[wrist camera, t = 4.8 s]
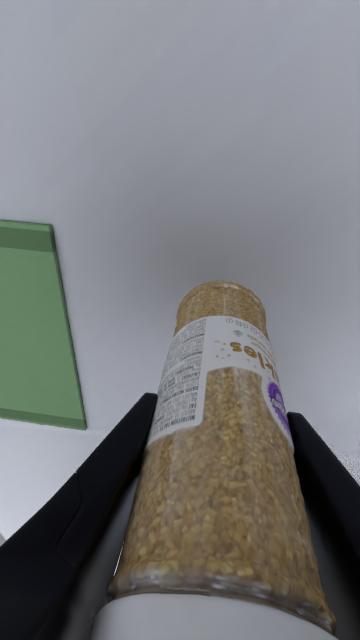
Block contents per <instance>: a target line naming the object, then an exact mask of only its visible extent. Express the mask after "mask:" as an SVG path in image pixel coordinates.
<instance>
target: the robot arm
mask: <svg viewBox="0 0 360 640" xmlns="http://www.w3.org/2000/svg"><path fill="white" fill-rule="evenodd" d="M157 397H158V395H157V394H154V393H145V394H144V395H143V396H142V397H141V398H140V399H139V401H138V402H137V403H136V404H135V405H134V406H133V407H132V408H131V410H130V411H129V412H128V413H127V414H126V415H125V416H124V418H123V419H122V420H121V421H120V422H119V423H118V424H117V425H116V427H115V428H114V429H113V430H112V431H111V432H110V433H109V434H108V436H107V437H106V438H105V439H104V440H103V441H102V442H101V444H100V445H99V446H98V447H97V448H96V449H95V450H94V451H93V453H92V454H91V455H90V456H89V457H88V458H87V459H86V460H85V462H84V463H83V464H82V465H81V466H80V467H79V468H78V470H77V471H76V473H77V474H76V473H74V474H73V475H72V476H71V477H70V478H69V480H68V481H67V482H66V483H65V484H64V485H63V486H62V487H61V488H60V489H59V490H58V492H57V493H56V494H55V495H54V496H53V497H52V498H51V499H50V500H49V501H48V502H47V503H46V504H45V505H44V506H43V507H42V508H41V509H40V510H39V511H38V512H37V513H36V514H35V515H34V516H33V517H31V518H30V519H29V520H28V521H27V522H26V523H25V524H24V525H23V526H22V527H21V528H20V529H19V530H18V531H16V532H15V533H14V534H13V535H12V536H11V537H10V538H9V539H8V540H7V541H6V542H5V543H4V544H3V545H2V546H0V640H89V638H90V635H91V631H92V627H93V623H94V620H95V618H96V615H97V613H98V612H99V611H100V610H101V608H103V607H104V605H105V602H106V598H107V595H106V592H107V587H108V584H109V582H110V581H111V579H112V578H113V575H114V572H115V569H116V566H117V562H118V559H119V556H120V553H121V549H122V546H123V543H124V535H125V532H126V529H127V525H128V520H129V516H130V513H131V509H132V504H133V499H134V495H135V491H136V487H137V483H138V478H139V474H140V470H141V459H142V455H143V451H144V447H145V443H146V440H147V436H148V433H149V430H150V426H151V422H152V418H153V414H154V409H155V405H156V401H157ZM286 415H287V420H288V424H289V428H290V433H291V437H292V441H293V445H294V455H293V457H294V460H295V465H296V471H297V475H298V477H299V482H300V490H301V493H302V495H303V498H304V504H305V509H306V513H307V516H308V522H309V527H310V531H311V538H312V543H313V547H314V551H315V555H316V558H317V561H318V565H319V574H320V578H321V585H322V588H323V591H324V593H325V600H326V602H327V604H328V606H329V608H330V609H331V611H332V612H333V614H334V615H335V618H336V620H337V629H336V633H335V635H334V636H335V637H336V638H337V639H338V640H360V486H359V484H358V483H357V482H356V481H355V479H354V478H353V477H352V476H351V474H350V473H349V472H348V471H347V470H346V468H345V467H344V466H343V465H342V463H341V462H340V461H339V460H338V458H337V457H336V456H335V455H334V454H333V452H332V451H331V450H330V449H329V447H328V446H327V445H326V444H325V442H324V441H323V440H322V439H321V437H320V436H319V435H318V434H317V433H316V431H315V430H314V429H313V428H312V426H311V425H310V424H309V423H308V421H307V420H306V419H305V418H304V416H303V415H302V414H300V413H294V412H288V413H287V414H286Z"/></svg>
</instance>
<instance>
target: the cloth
mask: <svg viewBox="0 0 360 640" xmlns="http://www.w3.org/2000/svg"><path fill="white" fill-rule="evenodd" d="M0 418H3V419H9V420H16V421H23V422H30V423H37V424H44V425H51V426H58V427H64V428H71V429H78V430H86V428H87V426H86V420H85V414H84V409H83V403H82V397H81V391H80V385H79V380H78V374H77V368H76V362H75V357H74V351H73V345H72V339H71V334H70V328H69V322H68V316H67V311H66V305H65V299H64V293H63V288H62V282H61V276H60V270H59V265H58V259H57V253H56V247H55V242H54V236H53V230H52V225H48V224H38V223H28V222H18V221H8V220H0Z"/></svg>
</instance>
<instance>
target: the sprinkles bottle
mask: <svg viewBox="0 0 360 640" xmlns="http://www.w3.org/2000/svg"><path fill="white" fill-rule="evenodd" d="M157 395H158V397H157V401H156V405H155V409H154V414H153V418H152V422H151V426H150V430H149V433H148V436H147V440H146V443H145V447H144V451H143V455H142V459H141V470H140V474H139V478H138V483H137V487H136V491H135V495H134V499H133V504H132V509H131V513H130V516H129V520H128V525H127V529H126V532H125V535H124V544H123V548H122V552H121V555H120V559H119V563H118V567H117V570H116V573H115V575H114V576H113V578H112V579H111V581H110V582H109V584H108V587H107V592H106V595H107V599H108V603H107V604H106V605H105V606H104V607H103V608H101V610H100V611H99V612H98V613H97V615H96V618H95V620H94V623H93V627H92V631H91V635H90V638H89V640H338V639H337V638H336V637H335V636H334V635H335V633H336V629H337V620H336V618H335V615H334V614H333V612H332V611H331V609H330V608H329V606H328V604H327V602H326V600H325V593H324V591H323V588H322V585H321V578H320V574H319V565H318V561H317V558H316V555H315V551H314V547H313V543H312V538H311V531H310V527H309V522H308V516H307V513H306V509H305V504H304V498H303V495H302V493H301V490H300V482H299V477H298V475H297V471H296V465H295V460H294V457H293V455H294V445H293V441H292V437H291V433H290V428H289V424H288V420H287V415H286V411H285V407H284V402H283V398H282V394H281V389H280V385H279V380H278V375H277V370H276V365H275V361H274V356H273V352H272V348H271V345H270V344H269V339H268V335H267V331H266V315H265V310H264V307H263V305H262V304H261V301H260V299H259V298H258V297H257V296H256V295H255V294H254V293H253V292H252V291H251V290H249V289H247V288H245V287H243V286H242V285H239V284H237V283H234V282H226V281H216V282H209V283H206V284H202V285H200V286H198V287H195V288H193V289H192V290H191V291H190V292H189V293H188V294H187V295H186V296H185V297H184V298H183V300H182V301H181V303H180V305H179V308H178V310H177V323H176V328H175V333H174V337H173V340H172V342H171V344H170V347H169V350H168V354H167V358H166V362H165V366H164V370H163V374H162V377H161V382H160V386H159V390H158V394H157Z"/></svg>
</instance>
